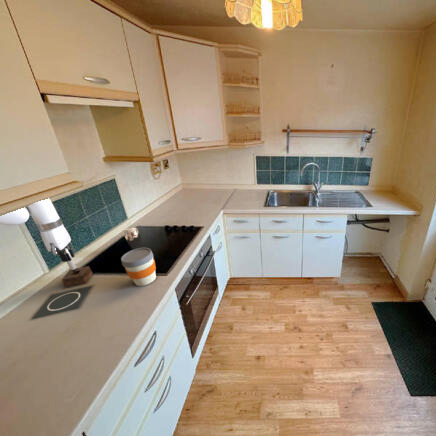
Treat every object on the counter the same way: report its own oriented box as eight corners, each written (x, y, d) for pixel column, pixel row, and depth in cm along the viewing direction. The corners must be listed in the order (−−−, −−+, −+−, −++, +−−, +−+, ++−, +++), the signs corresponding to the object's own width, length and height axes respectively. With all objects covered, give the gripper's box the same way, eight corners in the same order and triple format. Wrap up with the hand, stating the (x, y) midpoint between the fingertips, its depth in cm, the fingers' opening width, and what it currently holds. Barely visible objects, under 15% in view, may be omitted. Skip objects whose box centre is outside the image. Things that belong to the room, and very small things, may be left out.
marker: (70, 272, 109) (59, 250, 104) (72, 269, 111) (62, 248, 106) (76, 271, 109) (65, 250, 104) (78, 268, 111) (68, 247, 106)
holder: (66, 288, 108) (61, 279, 106) (73, 277, 115) (69, 269, 113) (86, 283, 110) (82, 275, 108) (92, 273, 117) (88, 265, 115)
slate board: (33, 319, 92) (32, 318, 91) (52, 295, 104) (51, 294, 103) (78, 308, 96) (78, 307, 96) (91, 287, 108) (91, 286, 108)
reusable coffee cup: (165, 273, 116) (158, 249, 110) (146, 290, 105) (136, 264, 99) (145, 270, 119) (136, 246, 113) (124, 286, 108) (113, 260, 102)
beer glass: (148, 249, 137) (140, 227, 131) (139, 256, 131) (131, 233, 125) (137, 248, 138) (129, 226, 132) (128, 255, 132) (120, 232, 126)
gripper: (49, 218, 105) (67, 252, 113) (27, 234, 91) (49, 271, 99) (69, 216, 107) (85, 249, 115) (50, 231, 94) (70, 267, 102)
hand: (68, 259), depth 107 cm, fingers closed on marker, 2 cm apart
